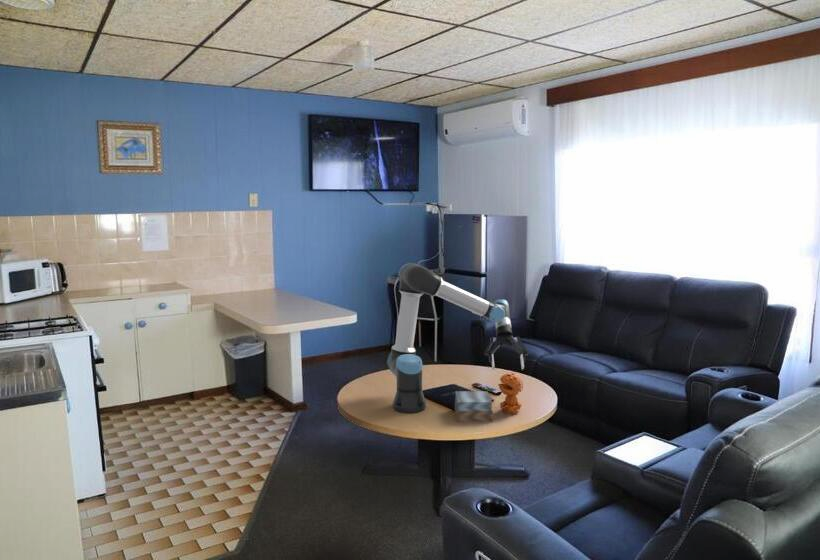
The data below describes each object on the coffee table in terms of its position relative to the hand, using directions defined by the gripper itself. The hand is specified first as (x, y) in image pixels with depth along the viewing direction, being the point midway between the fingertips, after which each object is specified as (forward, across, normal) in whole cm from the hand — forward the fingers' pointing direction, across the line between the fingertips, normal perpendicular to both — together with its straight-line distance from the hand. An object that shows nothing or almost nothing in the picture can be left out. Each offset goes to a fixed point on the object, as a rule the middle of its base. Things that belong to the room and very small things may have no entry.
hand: (508, 368), depth 272 cm
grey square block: (+22, +18, -2) cm, 29 cm away
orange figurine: (+19, 0, -5) cm, 20 cm away
